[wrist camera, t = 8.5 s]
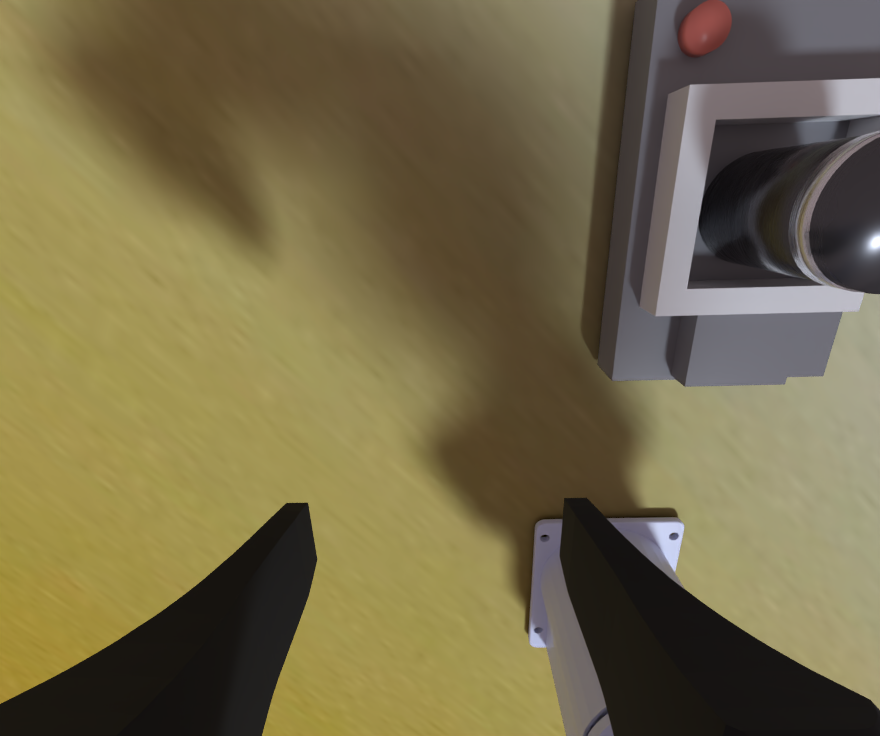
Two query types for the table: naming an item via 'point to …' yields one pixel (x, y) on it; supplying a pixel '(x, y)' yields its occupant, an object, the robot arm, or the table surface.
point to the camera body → (701, 159)
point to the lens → (801, 212)
